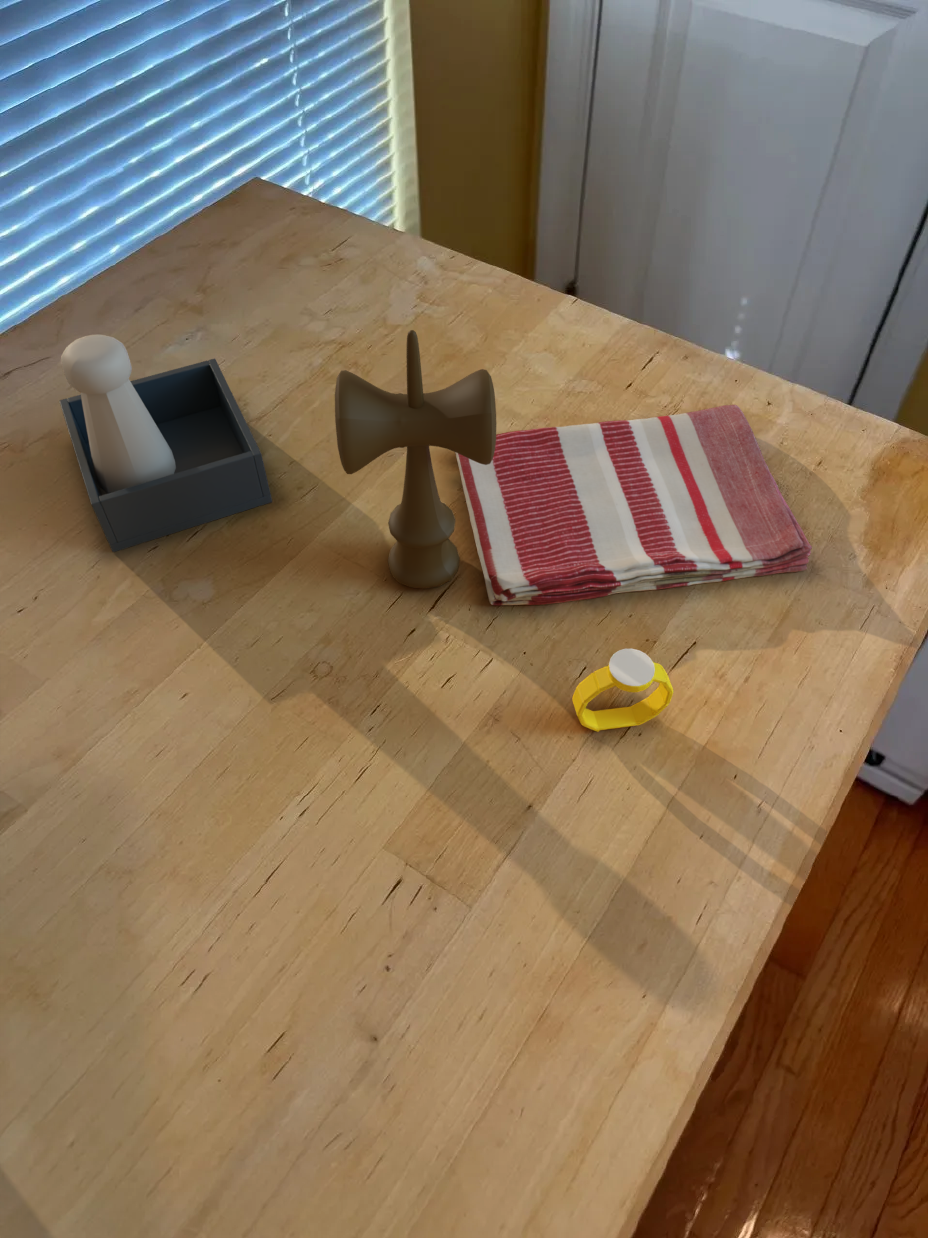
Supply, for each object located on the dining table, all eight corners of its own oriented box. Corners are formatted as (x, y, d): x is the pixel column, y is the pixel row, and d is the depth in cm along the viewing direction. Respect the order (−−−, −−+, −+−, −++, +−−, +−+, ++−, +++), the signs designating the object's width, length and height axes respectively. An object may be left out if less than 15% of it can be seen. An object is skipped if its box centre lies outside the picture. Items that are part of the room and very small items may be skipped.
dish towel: (812, 572, 67) (823, 547, 65) (491, 615, 65) (492, 591, 63) (732, 418, 78) (739, 393, 76) (452, 451, 75) (452, 426, 73)
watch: (576, 746, 59) (586, 694, 54) (565, 709, 60) (573, 656, 56) (668, 731, 59) (685, 678, 55) (654, 694, 61) (670, 640, 56)
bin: (112, 552, 69) (91, 504, 65) (80, 449, 75) (58, 400, 71) (272, 502, 72) (261, 453, 68) (227, 407, 79) (214, 357, 75)
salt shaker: (99, 475, 72) (38, 332, 62) (173, 456, 74) (126, 312, 63) (112, 527, 69) (51, 384, 59) (189, 505, 70) (142, 362, 60)
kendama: (357, 539, 69) (326, 301, 54) (487, 533, 70) (494, 295, 54) (356, 602, 66) (322, 367, 50) (493, 596, 66) (503, 360, 50)
